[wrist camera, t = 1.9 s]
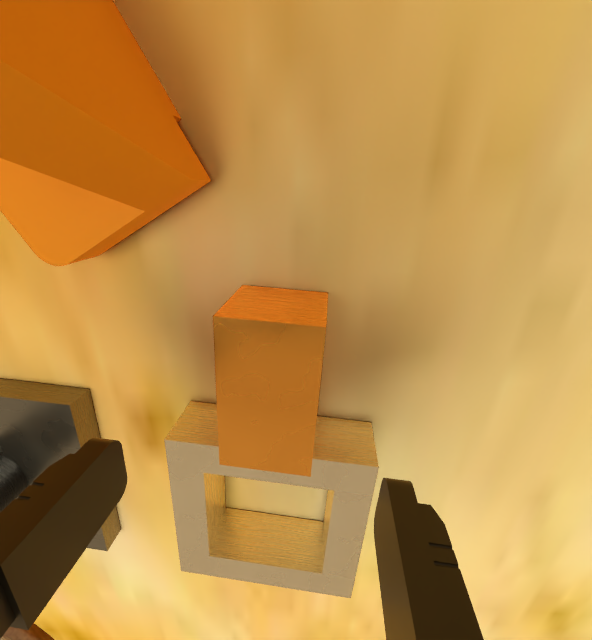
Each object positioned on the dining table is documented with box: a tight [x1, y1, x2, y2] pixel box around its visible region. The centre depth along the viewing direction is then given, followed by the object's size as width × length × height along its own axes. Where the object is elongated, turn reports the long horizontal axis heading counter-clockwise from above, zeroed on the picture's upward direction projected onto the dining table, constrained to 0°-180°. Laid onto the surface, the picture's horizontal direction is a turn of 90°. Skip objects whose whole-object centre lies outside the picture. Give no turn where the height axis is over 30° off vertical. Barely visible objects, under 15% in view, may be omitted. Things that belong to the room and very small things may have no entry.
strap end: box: [165, 285, 379, 598], centre depth 16 cm, size 17×10×4 cm, turn 177°
